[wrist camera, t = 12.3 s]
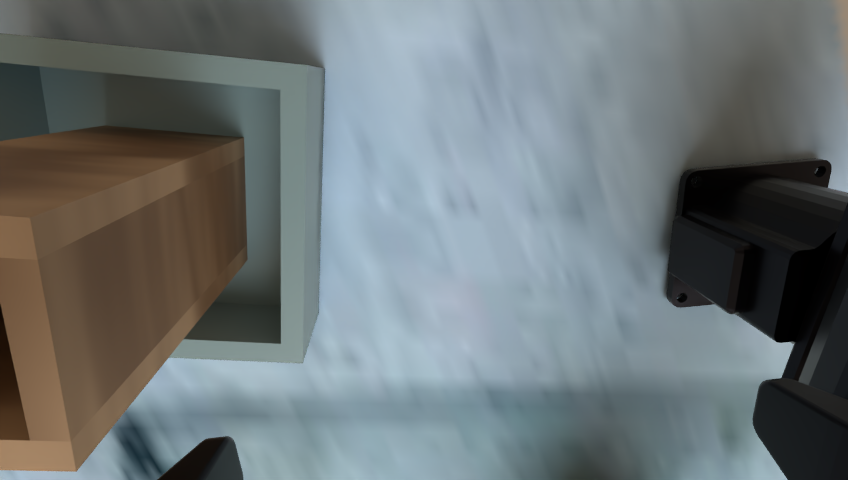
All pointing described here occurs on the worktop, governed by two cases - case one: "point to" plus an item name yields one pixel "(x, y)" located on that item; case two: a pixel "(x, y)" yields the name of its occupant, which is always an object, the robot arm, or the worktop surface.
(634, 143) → the worktop surface
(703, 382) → the worktop surface
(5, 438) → the sleeve
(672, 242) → the robot arm
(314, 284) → the tray
